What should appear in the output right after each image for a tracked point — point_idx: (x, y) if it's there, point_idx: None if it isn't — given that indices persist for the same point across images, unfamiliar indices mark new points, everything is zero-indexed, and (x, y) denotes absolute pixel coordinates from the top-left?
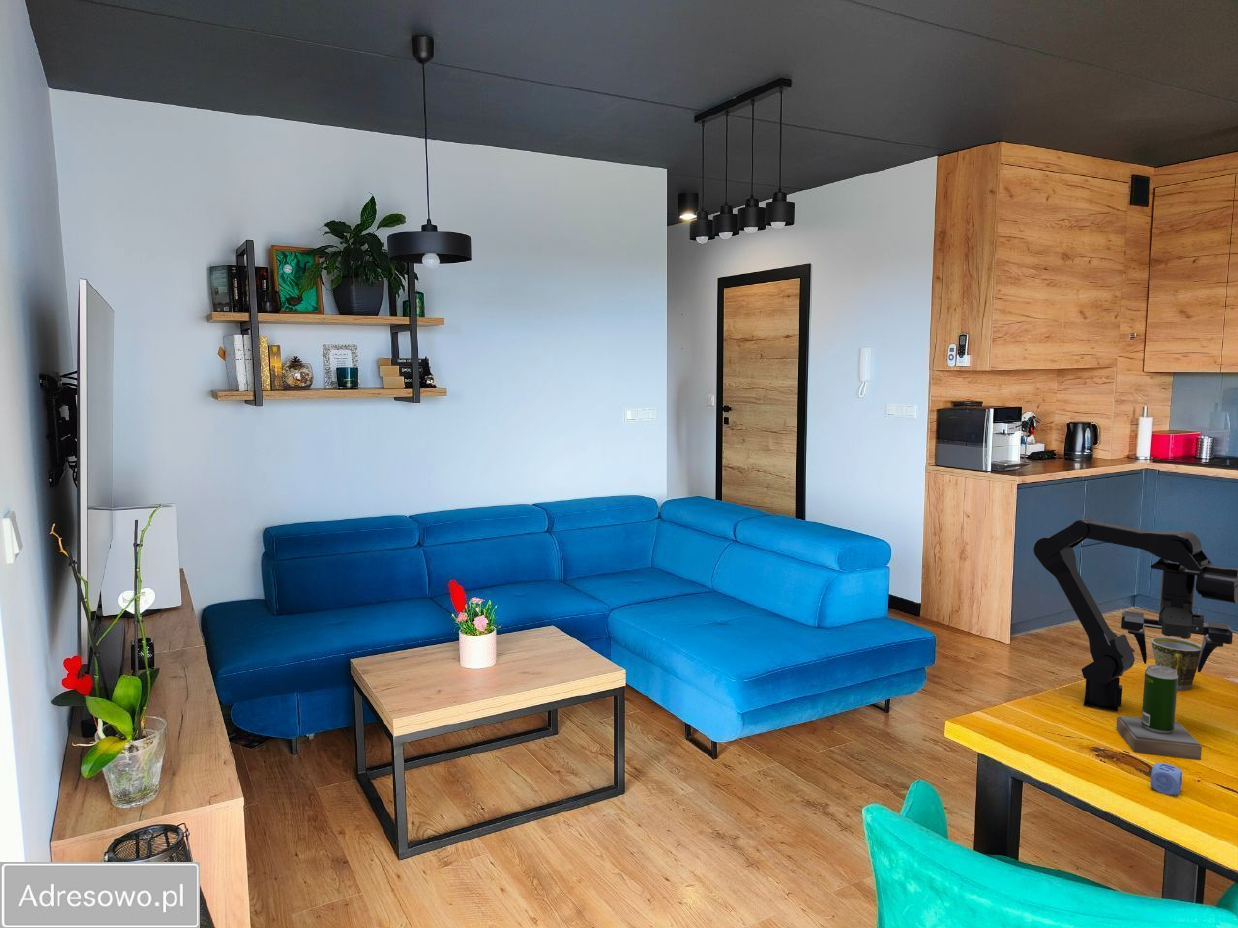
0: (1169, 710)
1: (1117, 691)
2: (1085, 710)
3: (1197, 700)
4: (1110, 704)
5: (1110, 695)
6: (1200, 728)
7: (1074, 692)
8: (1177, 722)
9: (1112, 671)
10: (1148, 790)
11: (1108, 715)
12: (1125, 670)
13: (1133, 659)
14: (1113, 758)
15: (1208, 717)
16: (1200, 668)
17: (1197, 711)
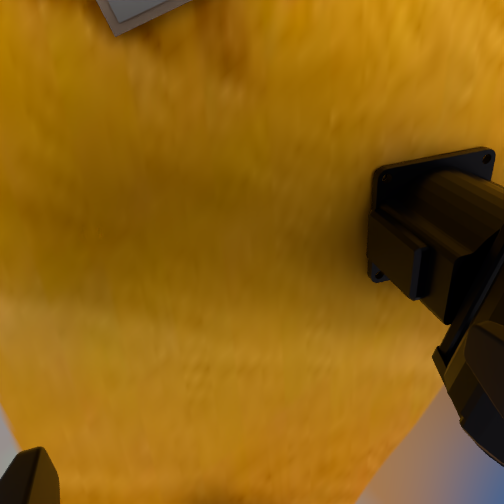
0: None
1: (426, 232)
2: (487, 97)
3: (140, 486)
4: (411, 189)
5: (440, 204)
6: (55, 229)
7: None
8: (118, 5)
9: None
10: None
11: (408, 102)
12: (487, 305)
13: (478, 420)
14: None
15: (67, 375)
16: (5, 487)
17: (116, 401)
